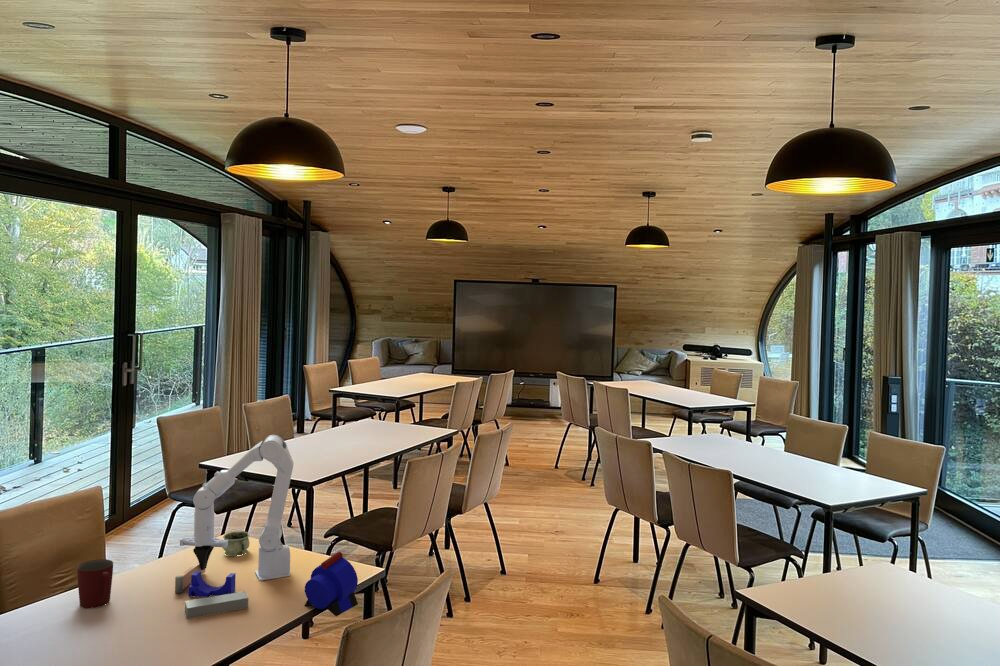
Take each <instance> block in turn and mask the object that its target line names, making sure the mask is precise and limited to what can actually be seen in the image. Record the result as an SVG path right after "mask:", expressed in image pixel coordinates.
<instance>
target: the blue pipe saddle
mask: <svg viewBox="0 0 1000 666" xmlns="http://www.w3.org/2000/svg"><path fill="white" fill-rule="evenodd" d="M236 575H237V574H236V572H235V573H234V572H230V573H229V574H228V575H226V577H225V582H224V584H223V585H219V586H212V585H210V584H208V583H207V582H206V581H205V580H204V577H203V574H202V575H201V571H196V572H194V573H193V574H192V575H191V583H190V585H188V597H193V596H195V598H207V597H212V596H213V595H216V596H219V595H225V594H231V593H236ZM193 598H194V597H193Z"/></svg>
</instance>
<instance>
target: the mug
mask: <svg viewBox="0 0 1000 666" xmlns="http://www.w3.org/2000/svg"><path fill="white" fill-rule="evenodd" d="M76 568H77V570H76V571H77V572H76V573H77V587H78V588H77V589H78V598H79V606H80V608H83V609H96V608H97V609H98V608H101V607H104V606H106V605H108V604H109V603H110V602H109V601H110V600H111V593H112V584H113V576H114V575H113V573H114V561H112V560H111V559H105V558H102V559H101V558H99V559H91V560H88V561H87V560H86V561H84V562H81V563H80V564H78V565H77V567H76ZM107 603H108V604H107ZM105 604H106V605H105Z"/></svg>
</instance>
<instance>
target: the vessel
mask: <svg viewBox="0 0 1000 666" xmlns="http://www.w3.org/2000/svg"><path fill="white" fill-rule="evenodd" d="M250 536H251V535H250V532H248V531H243V530H242V531H241V530H240V531H237V530H236V531H231V532H227V533H225V534H224V535H223V536H222V539H223V540H228V546H227V547H226V548H222V549H223V551H224V554H226V555H228V556H237V555H242V554H243V556H245V555H246V554H245V553H247V551H248V550H247V549H248V548H249V547H250V539H249V537H250ZM244 554H245V555H244ZM228 556H227V557H228Z"/></svg>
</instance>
